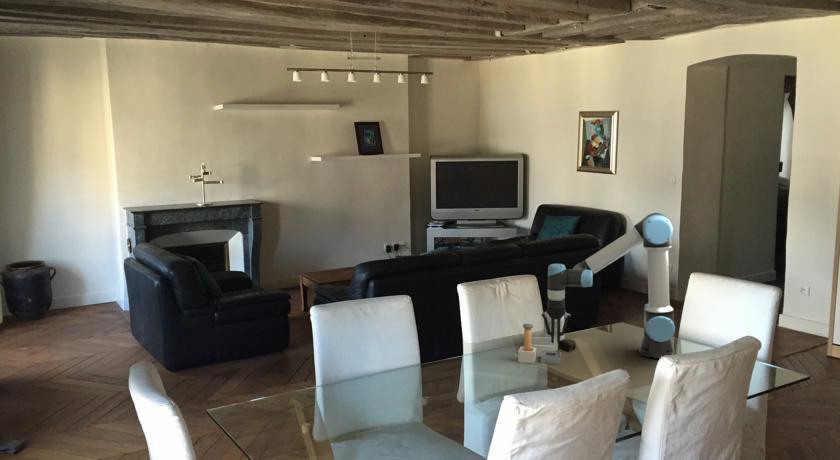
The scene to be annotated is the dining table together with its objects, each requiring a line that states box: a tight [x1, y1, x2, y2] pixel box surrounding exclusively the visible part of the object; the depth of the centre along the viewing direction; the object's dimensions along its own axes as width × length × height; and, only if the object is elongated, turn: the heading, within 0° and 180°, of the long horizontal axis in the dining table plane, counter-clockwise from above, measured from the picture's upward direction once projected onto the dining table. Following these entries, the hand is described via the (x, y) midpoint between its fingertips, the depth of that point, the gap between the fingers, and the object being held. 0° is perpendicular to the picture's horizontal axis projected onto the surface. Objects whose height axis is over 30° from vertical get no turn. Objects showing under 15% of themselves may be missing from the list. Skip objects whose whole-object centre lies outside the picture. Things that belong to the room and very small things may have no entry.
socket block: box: [517, 346, 537, 364], centre depth 314 cm, size 7×7×5 cm
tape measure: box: [558, 338, 577, 352], centre depth 329 cm, size 7×7×4 cm
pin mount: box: [540, 351, 562, 365], centre depth 313 cm, size 8×8×3 cm
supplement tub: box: [543, 314, 565, 341], centre depth 338 cm, size 10×10×15 cm
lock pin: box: [522, 323, 534, 351], centre depth 313 cm, size 4×4×16 cm
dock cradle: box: [531, 335, 556, 357], centre depth 326 cm, size 13×14×5 cm
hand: (555, 349), depth 324 cm, fingers closed
